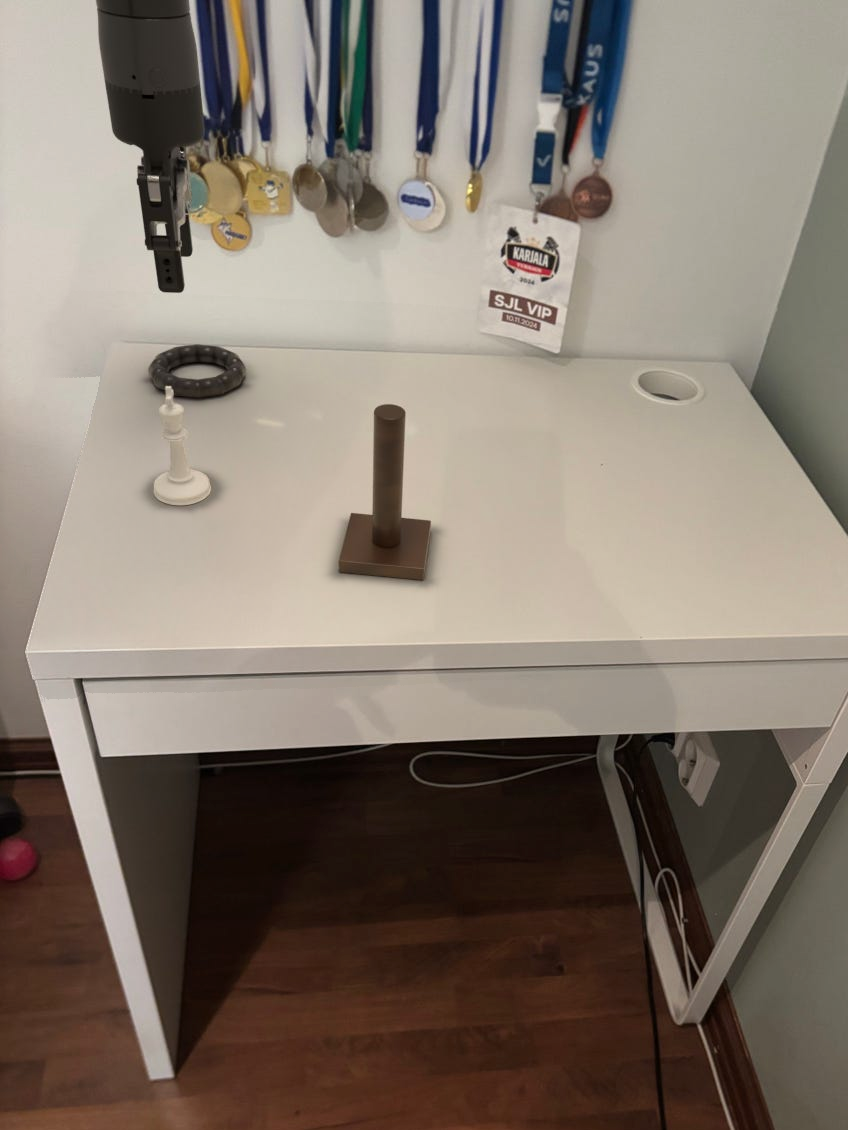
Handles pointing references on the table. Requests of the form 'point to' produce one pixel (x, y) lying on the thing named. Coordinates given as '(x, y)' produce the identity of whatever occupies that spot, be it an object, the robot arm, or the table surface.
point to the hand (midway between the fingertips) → (176, 272)
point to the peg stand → (386, 512)
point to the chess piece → (178, 462)
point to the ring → (197, 386)
